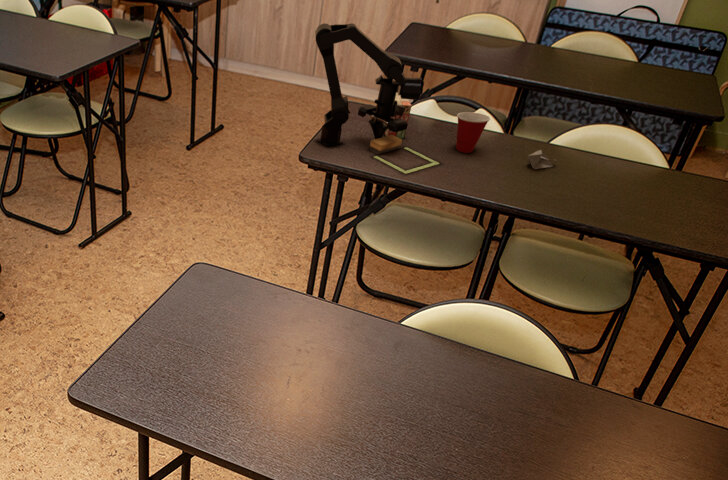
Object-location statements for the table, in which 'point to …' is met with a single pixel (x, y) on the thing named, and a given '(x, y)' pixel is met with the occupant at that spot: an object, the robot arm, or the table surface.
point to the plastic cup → (469, 130)
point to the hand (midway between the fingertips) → (377, 142)
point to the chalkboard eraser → (385, 144)
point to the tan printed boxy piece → (405, 116)
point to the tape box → (410, 169)
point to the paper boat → (539, 160)
